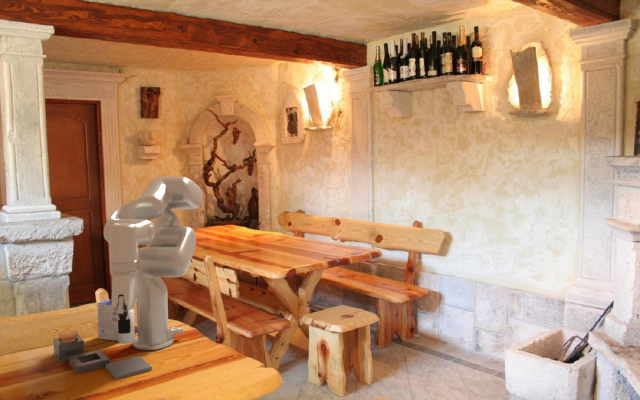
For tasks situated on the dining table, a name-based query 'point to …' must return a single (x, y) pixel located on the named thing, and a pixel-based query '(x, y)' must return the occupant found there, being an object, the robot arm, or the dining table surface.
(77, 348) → the housing
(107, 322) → the ink cartridge box
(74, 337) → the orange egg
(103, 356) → the collar
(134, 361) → the mat
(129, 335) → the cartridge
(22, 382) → the dining table surface
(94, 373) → the dining table surface
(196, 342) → the dining table surface
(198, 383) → the dining table surface
